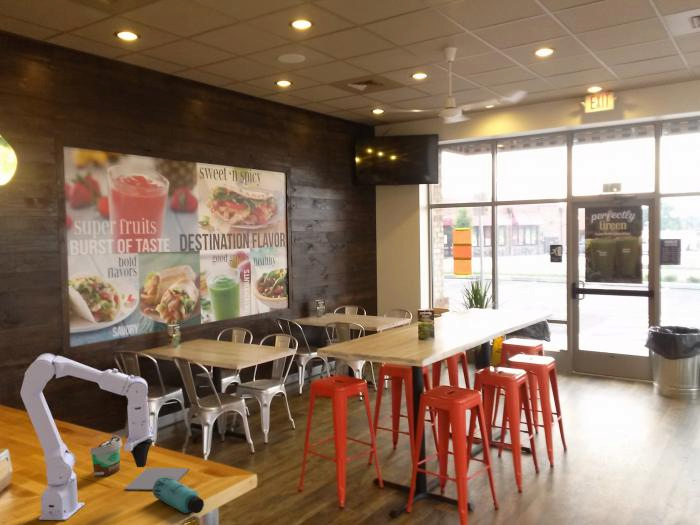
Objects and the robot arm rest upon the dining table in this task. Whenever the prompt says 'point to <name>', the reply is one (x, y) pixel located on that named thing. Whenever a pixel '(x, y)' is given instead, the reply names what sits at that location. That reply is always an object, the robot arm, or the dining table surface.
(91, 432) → the dining table surface
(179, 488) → the beverage bottle
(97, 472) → the food container
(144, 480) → the mat
